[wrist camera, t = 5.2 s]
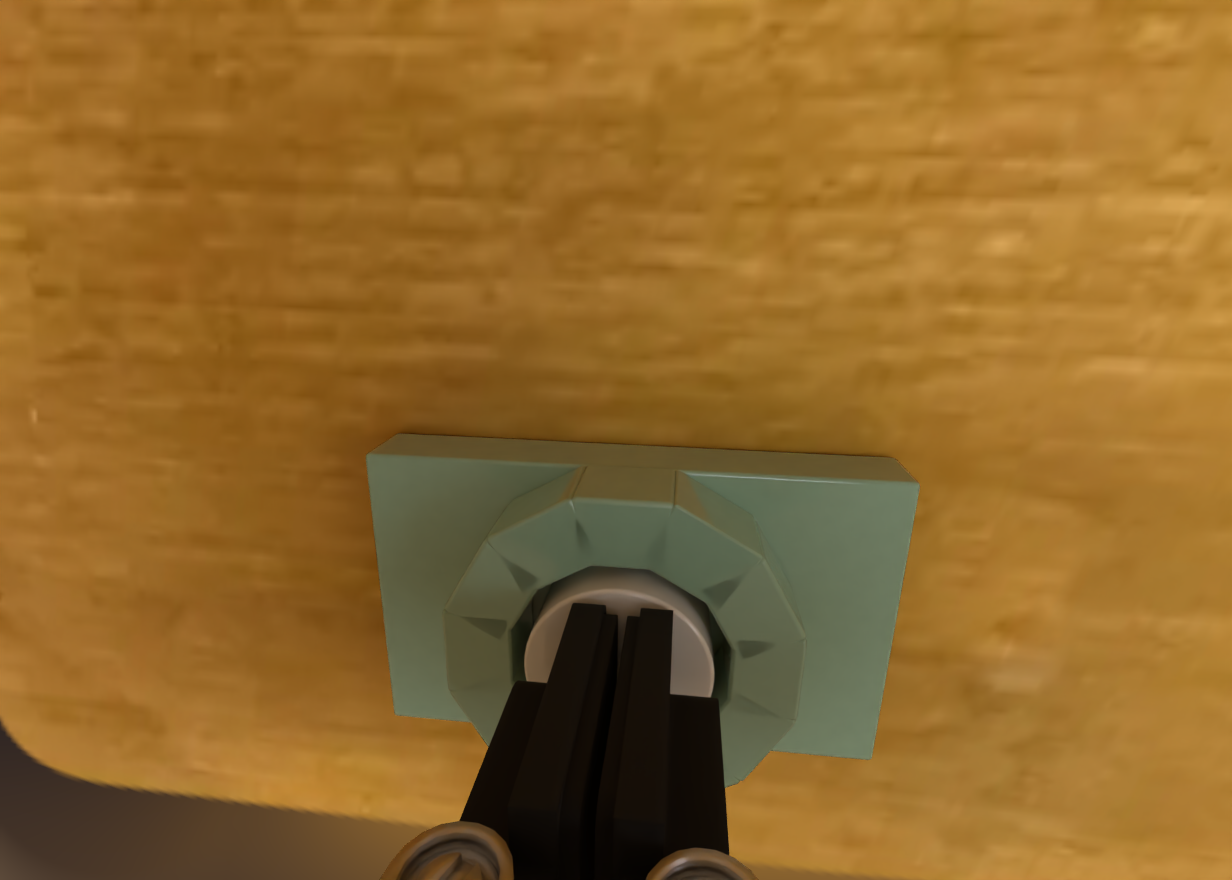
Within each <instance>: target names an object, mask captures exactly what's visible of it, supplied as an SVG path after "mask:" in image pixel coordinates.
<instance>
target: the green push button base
mask: <svg viewBox="0 0 1232 880" xmlns="http://www.w3.org/2000/svg"><path fill="white" fill-rule="evenodd" d="M366 466H367V475H368V484H369V492H370V501H371V510H372V519H373V528H374V537H375V546H376V555H377V563H378V572H379V581H380V590H381V599H382V608H383V617H384V626H385V634H386V643H387V652H388V661H389V670H390V679H391V688H392V697H393V706H394V713H395V715H397V716H408V717H418V718H429V719H439V720H450V721H461V722H471V723H472V724H473V726H474V727H475V729H476V730H477V731H478V733H479V734H480V736H481V737H482V738H483V740H484V741H485V743H486V744H487V746H488V747H489V745H490V743H491V740H492V737H493V735H494V732H495V730H496V727H497V725H498V722H499V720H500V717H501V715H502V712H503V710H504V707H505V705H506V702H507V700H508V697H509V694H510V692H511V689H512V687H513V685H514V683H515V682H516V681H518V680H520V681H527V680H526V676H525V669H524V654H525V649H526V644H527V641H528V638H529V636H530V633H531V630H532V628H533V625H534V623H535V620H536V618H537V615H538V613H539V610H540V608H541V605H542V603H543V600H544V598H545V595H546V593H547V590H548V588H549V586H550V585H551V583H553V582H555V581H558V580H560V579H562V578H564V577H567V576H569V575H571V574H573V573H575V572H578V571H580V570H582V569H584V568H587V567H589V566H603V567H617V568H632V569H646V570H651V571H653V572H655V573H656V574H658V575H660V576H661V577H663V578H665V579H666V580H668V581H670V582H671V583H673V584H675V585H677V586H678V587H680V588H682V589H683V590H685V591H687V592H688V593H690V594H692V595H693V596H695V597H697V598H698V599H700V600H702V601H704V602H705V603H706V605H707V606H708V608H709V610H710V615H711V623H712V639H713V654H714V670H715V680H714V687H713V692H712V695H711V698H718V700H719V709H720V724H721V739H722V754H723V769H724V783H725V788H726V787H729V786H732V785H735V784H738V783H739V782H740V781H743V780H744V779H745V778H746V777H747V776H748V775H749V774H750V773H751V772H752V770H753V769H754V768H755V767H756V766H757V765H758V764H759V763H760V762H761V761H762V760H763V758H764V757H765V756H766V755H767V754H768V753H769V752H770V751H778V752H788V753H799V754H809V755H820V756H831V757H841V758H852V759H862V760H870V759H871V758H872V753H873V748H874V742H875V737H876V731H877V725H878V720H879V714H880V708H881V703H882V697H883V692H884V686H885V680H886V675H887V669H888V664H889V658H890V652H891V647H892V641H893V635H894V630H895V624H896V619H897V613H898V607H899V602H900V596H901V591H902V585H903V579H904V574H905V568H906V562H907V557H908V551H909V546H910V540H911V534H912V529H913V523H914V517H915V512H916V506H917V501H918V495H919V489H920V484H919V482H918V481H917V480H916V479H915V478H914V477H913V476H912V475H911V474H910V473H909V472H908V471H907V470H906V469H905V468H904V467H903V466H902V464H901V463H900V462H899V461H898V460H897V459H895V458H888V457H867V456H847V455H827V454H806V453H786V452H766V451H746V450H725V449H705V448H685V447H664V446H644V445H624V444H603V443H583V442H563V441H542V440H522V439H502V438H481V437H461V436H441V435H420V434H400V433H398V434H396V435H394V436H393V437H391V438H390V439H388V440H387V441H385V442H384V443H382V444H381V445H379V446H378V447H376V448H375V449H373V450H372V451H370V452H369V453H367V454H366Z"/></svg>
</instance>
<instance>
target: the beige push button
mask: <svg viewBox="0 0 1232 880" xmlns="http://www.w3.org/2000/svg"><path fill="white" fill-rule="evenodd" d="M573 603H585V604H598V605H606V614H612V615H618V646H617V677H618V671H619V664H620V658H621V652H622V646H623V640H624V634H625V627H626V621H627V616H638V617H640V611H641V608H651V609H664V610H673V632H672V657H671V682H670V694H677V695H689V696H700V697H711V695H712V692H713V687H714V680H715V670H714V654H713V639H712V623H711V615H710V610H709V608H708V606H707V605H706V603H705V602H704V601H702V600H700V599H698V598H697V597H695V596H693V595H692V594H690V593H688V592H687V591H685V590H683V589H682V588H680V587H678V586H677V585H675V584H673V583H671V582H670V581H668V580H666V579H665V578H663V577H661V576H660V575H658V574H656V573H655V572H653V571H651V570H646V569H632V568H617V567H603V566H589V567H587V568H584V569H582V570H580V571H578V572H575V573H573V574H571V575H569V576H567V577H564V578H562V579H560V580H558V581H555V582H553V583H551V585H550V586H549V588H548V590H547V593H546V595H545V598H544V600H543V603H542V605H541V608H540V610H539V613H538V615H537V618H536V620H535V623H534V625H533V628H532V630H531V633H530V636H529V638H528V641H527V644H526V649H525V654H524V669H525V676H526V680H527V681H531V682H543V683H547V681H548V678H549V675H550V672H551V669H552V666H553V662H554V659H555V656H556V653H557V650H558V647H559V644H560V641H561V637H562V634H563V631H564V628H565V625H566V622H567V619H568V616H569V612H570V609H571V606H572V604H573Z"/></svg>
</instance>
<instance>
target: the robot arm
mask: <svg viewBox="0 0 1232 880" xmlns="http://www.w3.org/2000/svg"><path fill="white" fill-rule="evenodd" d="M672 632H673V610H664V609H651V608H641V611H640V617H638V616H627V621H626V627H625V634H624V640H623V646H622V652H621V658H620V664H619V671H618V677H617V646H618V615H612V614H606V605H598V604H585V603H573V604H572V606H571V609H570V612H569V616H568V619H567V622H566V625H565V628H564V631H563V634H562V637H561V641H560V644H559V647H558V650H557V653H556V656H555V659H554V662H553V666H552V669H551V672H550V675H549V678H548V681H547V683H543V682H531V681H520V680H518V681H516V682H515V683H514V685H513V687H512V689H511V692H510V694H509V697H508V700H507V702H506V705H505V707H504V710H503V712H502V715H501V717H500V720H499V722H498V725H497V727H496V730H495V732H494V735H493V737H492V740H491V743H490V745H489V748H488V750H487V753H486V755H485V758H484V760H483V763H482V765H481V768H480V770H479V773H478V775H477V778H476V781H475V783H474V786H473V788H472V791H471V793H470V796H469V798H468V801H467V803H466V806H465V808H464V811H463V813H462V816H461V819H460V821H457V822H452V823H446V824H440V825H438V826H436V827H433V828H431V829H429V830H427V831H424V832H422V833H421V834H419V835H418V836H417V837H415V838H414V839H413V840H411V841H410V842H409V843H407V844H406V845H405V846H404V847H403V848H402V849H401V850H400V852H399V853H398V854H397V855H396V857H395V858H394V859H393V860H392V861H391V863H390V864H389V866H388V867H387V869H386V870H385V872H384V873H383V875H382V876H381V878H380V880H758V879H757V877H756V876H755V875H754V874H753V872H752V871H751V870H750V869H748V868H747V867H746V866H744V865H743V864H742V863H740V862H739V861H738V860H736V859H735V858H734V857H731V856H729V843H728V828H727V813H726V798H725V783H724V769H723V754H722V739H721V724H720V709H719V700H718V698H711V697H700V696H689V695H677V694H670V682H671V657H672Z"/></svg>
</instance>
